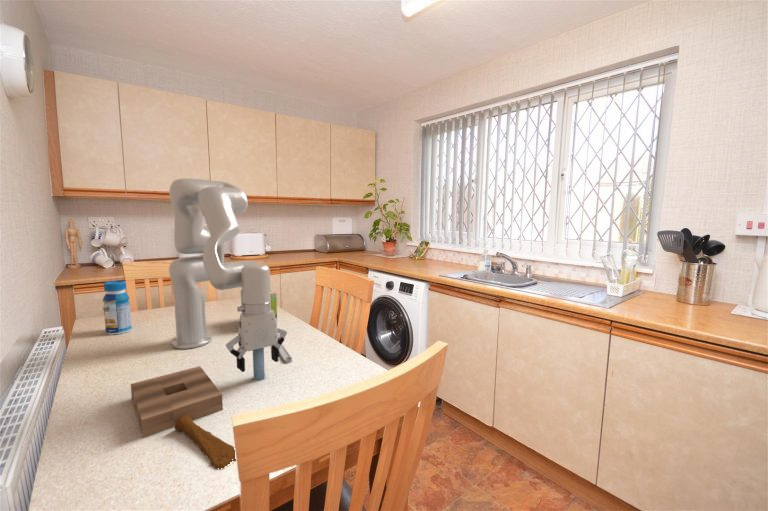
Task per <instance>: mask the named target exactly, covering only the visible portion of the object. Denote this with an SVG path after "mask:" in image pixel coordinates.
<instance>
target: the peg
mask: <svg viewBox="0 0 768 511" xmlns="http://www.w3.org/2000/svg"><path fill="white" fill-rule="evenodd" d="M252 366H253V367H252V368H253V372H252V373H253V381H262V380H264V379H265V347H264V348H260V349H256V350H252Z"/></svg>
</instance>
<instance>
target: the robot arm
mask: <svg viewBox="0 0 768 511" xmlns="http://www.w3.org/2000/svg"><path fill="white" fill-rule="evenodd" d="M169 199H170V200H169V201H170V203H171V205H172V206H171V207H172V209H173V214H174V229H173V230H174V231H173V232H174V233H173V234H174V237H173V238H174V247H175V250H176V251H177V252H178V253H179V254H182V255H193V254H194V255H193V256H185V257H184V256H183V257H179V258H175V259H174V260H172V261H171V262H170V263H169V267H168V272H169V277H170V280H171V284H172V291H173V300H174V302H173V303H174V315H175V316H174V318H175V333H176V334H175V335H176V338H175V339H173V340H172V342H171V345H172V347H173V348H174V349H177V350H178V349H179V350H181V349H182V350H183V349H185V350H187V349H195V348H199V347H202V346H205V345H208V344H209V343H210V342H211V341H212V336H211V335H210V334H208V333H207V320H206V303H205V302H206V300H205V299H206V298H205V292H204V291H203V290H202V289H201V288H200V287H199V286H198V285H197V284H198V283H203V282H209V283H210V284H211V286H212V287H213V289H216V290H219V291H223V290H225V291H226V290H230V289H237V288H241V290H242V305H241V304H240V306H237V307H236V308H237V312H241V313H240V316H239V321H238V330H237V335H236V336H235V337H233V338H232V339H230V341H228V342H227V343H226V344H225V347H226V349H227V350H228V351H229V353H230V354H231V355H233V356H234V357H236V367H237V369H239V370H240V372H242V373H244V372H245V371H246V360H245V357H244V355H245V354H246V352H251V351H252V352H253V350H256V349H260V348H264V349H265V348H268V347H270V349H271V350H270V354H271V355H270V356H271V360H272V361H273V362H275V363H278V362H279V358H280V354H279V348H280V347H281V346H280V345H281V344H282V345H283V343H284V341H285V339H286V336H287V335H288V334H287V333H288V332H287V330H285V329H281V328H279V327H278V322H277V323H276V318H275V313H274V311H273V310H271V298H270V291H271V272H270V271H271V270H270V267H269V266H268V265H267V264H263V263H258V262H257V261H254V260H241V261H230V262H225V246H226V244H225V243H226V242H228V241H230V240H232V239H234V238H236V237H237V236H238V235H239V233H240V231H241V228H240V225H239V222H238V219H237V217H236V214H237V215H241V214H243V213H245V212H246V211H247V209H248V207H249V201H248V198H247V195H246V193H245V192H244V191H243V190H242V189H241V188H240V187H238V186H235V185H233V184H231V183H228V182H225V181H219V180H211V179H201V178H200V179H199V178H178V179H174V180H173V181H172V182H171V183H170V186H169ZM204 221H205V224H206V226H203V225H204ZM196 254H202V255H196ZM242 312H243V313H242ZM278 334H280V337H279V338H278ZM237 344H238V348H237V349H235V348H234V346H235V345H237Z"/></svg>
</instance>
